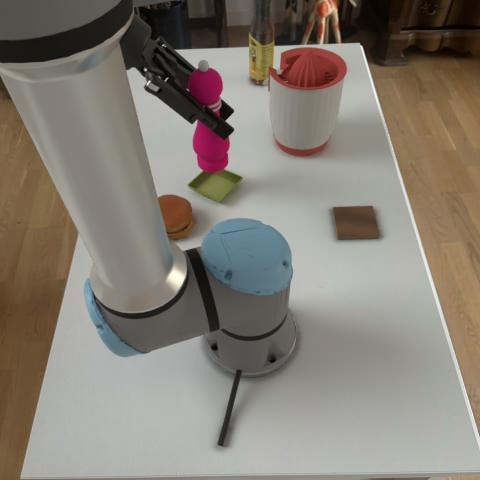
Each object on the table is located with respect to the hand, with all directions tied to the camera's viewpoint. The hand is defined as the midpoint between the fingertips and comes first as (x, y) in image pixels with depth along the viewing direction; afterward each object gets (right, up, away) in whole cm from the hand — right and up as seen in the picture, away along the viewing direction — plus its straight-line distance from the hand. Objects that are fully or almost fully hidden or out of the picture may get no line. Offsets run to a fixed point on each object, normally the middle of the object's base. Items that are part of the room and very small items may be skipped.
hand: (229, 124), depth 82 cm
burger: (-12, -17, +8) cm, 22 cm away
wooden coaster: (+25, -17, +6) cm, 31 cm away
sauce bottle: (+8, +27, +35) cm, 45 cm away
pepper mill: (-3, -5, +7) cm, 9 cm away
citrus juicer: (+15, +5, +21) cm, 26 cm away
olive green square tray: (-3, -8, +13) cm, 16 cm away
